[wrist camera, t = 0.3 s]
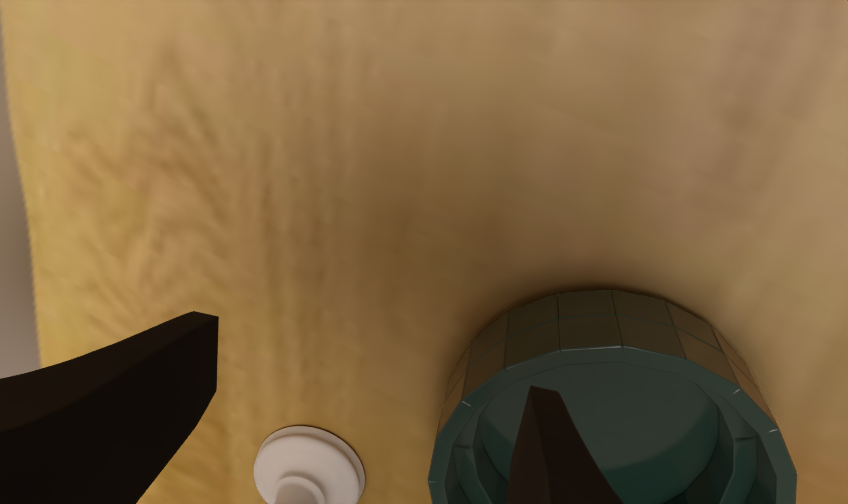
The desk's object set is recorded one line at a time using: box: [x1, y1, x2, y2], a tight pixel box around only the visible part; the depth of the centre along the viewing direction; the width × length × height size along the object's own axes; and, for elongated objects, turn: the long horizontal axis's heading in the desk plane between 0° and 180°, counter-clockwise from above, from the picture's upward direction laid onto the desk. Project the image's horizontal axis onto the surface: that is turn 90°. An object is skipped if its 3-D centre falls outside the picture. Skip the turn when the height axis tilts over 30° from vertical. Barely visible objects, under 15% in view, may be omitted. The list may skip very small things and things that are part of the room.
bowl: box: [428, 289, 797, 504], centre depth 24 cm, size 12×12×4 cm
